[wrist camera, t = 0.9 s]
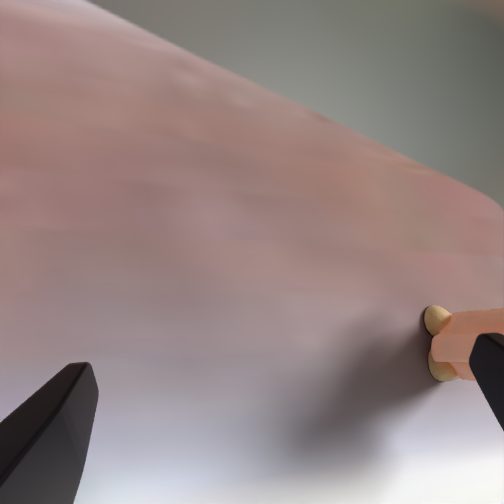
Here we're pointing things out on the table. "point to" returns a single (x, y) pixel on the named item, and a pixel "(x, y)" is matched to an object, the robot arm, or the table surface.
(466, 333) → the grandmother figurine
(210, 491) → the table surface
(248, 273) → the table surface
